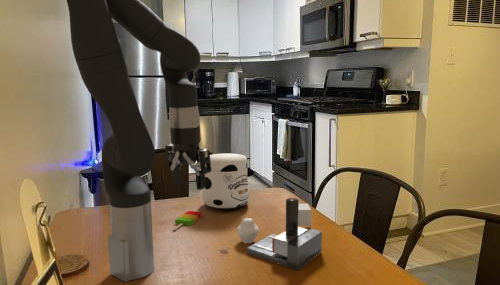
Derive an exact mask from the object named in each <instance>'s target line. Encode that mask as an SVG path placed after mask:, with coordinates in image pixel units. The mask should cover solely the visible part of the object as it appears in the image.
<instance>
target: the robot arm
mask: <svg viewBox="0 0 500 285" xmlns="http://www.w3.org/2000/svg"><path fill="white" fill-rule="evenodd" d="M66 4H67V7H68V14H69V30H70V41H71V48H72V52H73V55H74V59H75V62H76V65H77V69H78V70H79V74H80V78H81V79H82V83H83V84H84V86H85V88H86V89H87V91H88V93H89V94H90V95H91V96H92V98H93V99H94V101H95V102H96V103H97V105H98V106H99V107H100V109H101V111H102V113H104V115H105V116H106V118H107V120H108V122H109V125H110V127H111V130H112V133H113V134H112V135H109V136H108V137H107V139H106V140H105V141H104V144H103V146H102V150H101V165H102V166H101V167H102V175H103V184H104V189H105V192H106V195H107V196H108V201H109V214H110V217H109V218H110V231H111V233H110V234H109V235H108V237H107V242H108V244H107V246H108V256H109V257H108V258H109V272H110V273H109V274H110V275H111V276H114V277H115V278H116V279H119V280H121V281H122V282H125V283H126V282H129V281H132V280H138V279H143V278H145V277H147V276H149V275H150V274H152V273H153V271H154V270H155V261H154V259H155V258H154V236H153V219H152V218H153V217H152V197H151V196H152V195H151V194H152V192H151V189H150V188H149V186H148V185H147V184H146V183H145V181H144V179H142V176H145V175H147V174H148V173H150V171H151V170H152V169H153V167H154V165H155V161H156V150H155V145H154V143H153V139H152V137H151V135H150V133H149V130H148V129H147V126H146V124H145V121H144V118H143V116H142V114H141V110H140V108H139V105H138V104H139V103H138V102H137V98H136V95H135V91H134V89H133V84H132V82H131V78H130V76H129V72H128V67H127V64H126V61H125V57H124V54H123V53H124V52H123V50H122V47H121V44H120V42H119V37H118V35H117V32H116V29H115V25H114V22H113V20H114V21H115V22H116V23H117V24H118V25H120V26H121V27H122V28H123V29H124V30H125V31H126V32H128V33H129V34H130V35H131V36H132V37H134V39H135V40H137V41H138V42H139V43H140V44H142V45H143V46H144V47H146V49H149V50H150V51H151V50H152V51H155V52H159V53H160V57H159V58H160V59H159V60H160V61H159V63H160V68H161V73H162V76H163V79H164V80H163V81H164V83H165V85H166V88H167V93H168V107H169V108H168V109H169V110H168V111H169V112H168V121H169V132H170V134H169V135H170V143H171V144H167V145H165V148H164V150H165V151H164V152H165V166H166V168H170V170H171V171H172V180H173V184H174V185H179V184H181V183H182V182H183V180H182V178H183V177H182V169H181V167H182V165H183V164H184V165H188V166H189V167H190V168H191V169H192V170H193V171H194V173H195V175H196V176H195V181H196V190H197V191H198V190H199V191H202V190H203V189H204V188H205V185H206V184H205V174H206V173H209V172H211V162H210V155H211V153H210V149H209V148H205V149H201V148H200V142H202V141H201V140H202V137H201V122H200V120H201V119H200V111H199V106H198V92H197V87H196V85H195V83H193V82H191V81H189V78H188V75H187V74H188V73H190V72H193V71H195V70H196V69H197V68H198V67H199V66H200V63H201V54H200V51H199V49H198V48H197V45H196V44H194V42H193V41H191V40H190V39H189V38H187V36H185V35H183V34H182V33H180V32H178V31H177V30H176V29H173V28H172V27H171V26H168V24H166V23H165V22H164V20H162V18H160V17H159V16H158V15H157V14H156V13H155V12H154V11H153V10H152V9H151V8H150V7H149V6H147V5H146V4H145V3H144V2H142V1H141V0H66ZM205 164H206V168H205Z"/></svg>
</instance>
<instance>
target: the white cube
mask: <svg viewBox="0 0 500 285" xmlns="http://www.w3.org/2000/svg"><path fill="white" fill-rule="evenodd" d="M298 226H311V227H312V208H311V207H310V205H309V204H308V203H299V206H298Z"/></svg>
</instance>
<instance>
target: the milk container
mask: <svg viewBox="0 0 500 285" xmlns="http://www.w3.org/2000/svg"><path fill="white" fill-rule="evenodd" d="M210 162H211V172H209V173H206V174H205V184H206V185H205V188H204V189H201V191H202V192H201V197H202V202H203V203H204V205H205V206H206V207H208V208H211V209H213V210H214V209H215V210H218V211H219V210H220V211H221V210H222V211H225V210H236V209H239V208H242V207H244V206H246V205H247V204H248V203H249V201H250V195H251V194H250V193H251V190H250V186H249V182H248V159H247V156H246V155H244V154H241V153H240V154H239V153H227V152H226V153H214V154H210ZM205 168H206V164H205Z"/></svg>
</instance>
